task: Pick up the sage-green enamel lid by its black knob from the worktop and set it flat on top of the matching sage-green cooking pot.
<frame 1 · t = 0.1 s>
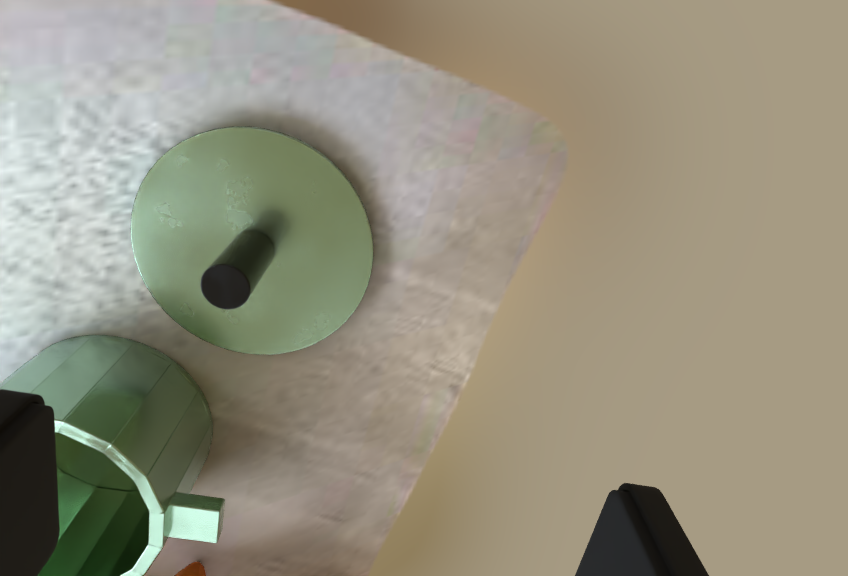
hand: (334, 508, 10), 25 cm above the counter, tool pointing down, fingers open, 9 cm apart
lid: (255, 247, 33), point 1 cm above the counter
pot: (116, 419, 38), on the counter
carrot: (199, 560, 44), on the counter
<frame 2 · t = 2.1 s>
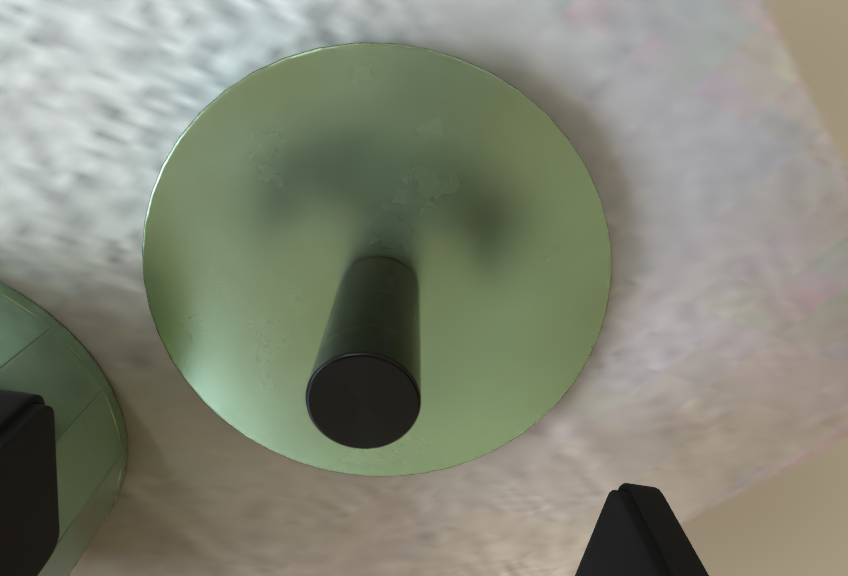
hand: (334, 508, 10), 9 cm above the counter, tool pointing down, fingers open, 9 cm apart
lid: (379, 287, 17), point 1 cm above the counter
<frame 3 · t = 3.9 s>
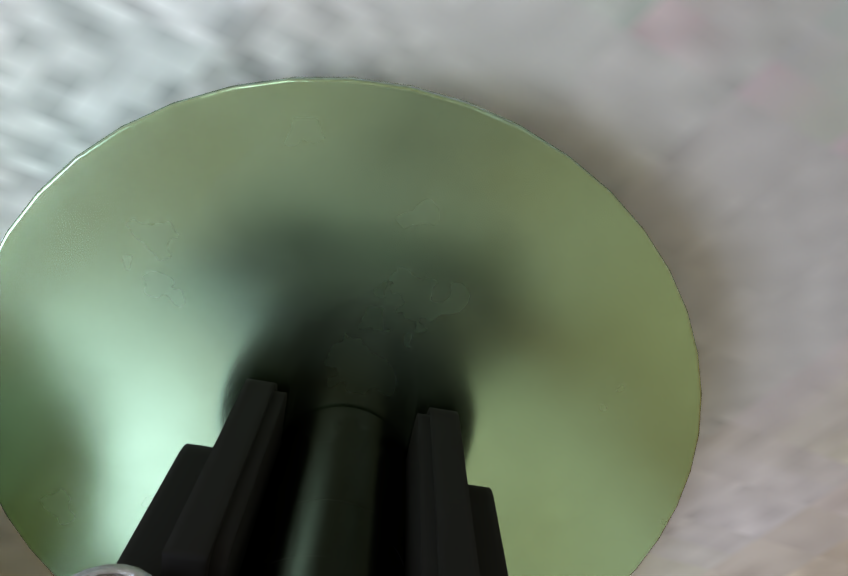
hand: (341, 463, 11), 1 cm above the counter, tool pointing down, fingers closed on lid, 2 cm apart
lid: (345, 441, 11), point 1 cm above the counter, touching gripper
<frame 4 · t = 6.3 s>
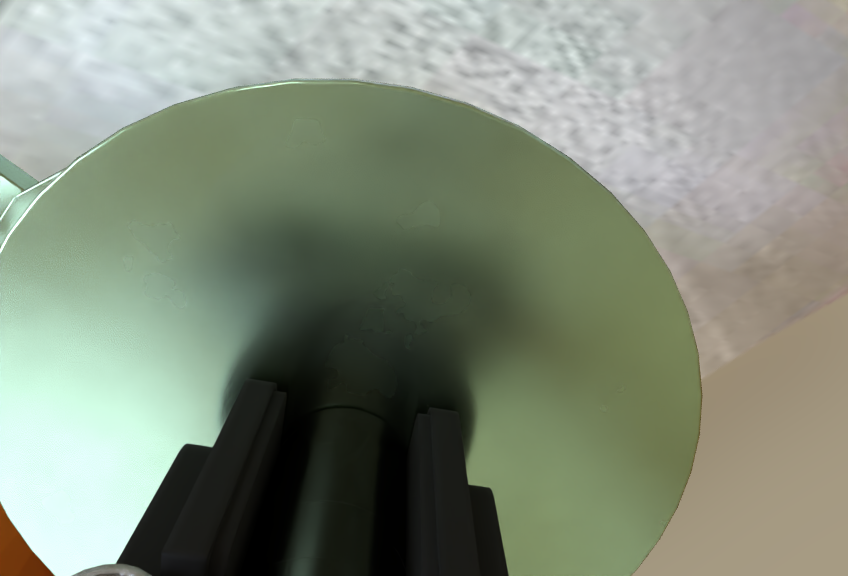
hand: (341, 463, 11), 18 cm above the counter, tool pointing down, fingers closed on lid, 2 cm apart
reusable coffee cup: (20, 489, 33), on the counter
lid: (346, 442, 11), point 17 cm above the counter, touching gripper
pot: (235, 257, 28), on the counter
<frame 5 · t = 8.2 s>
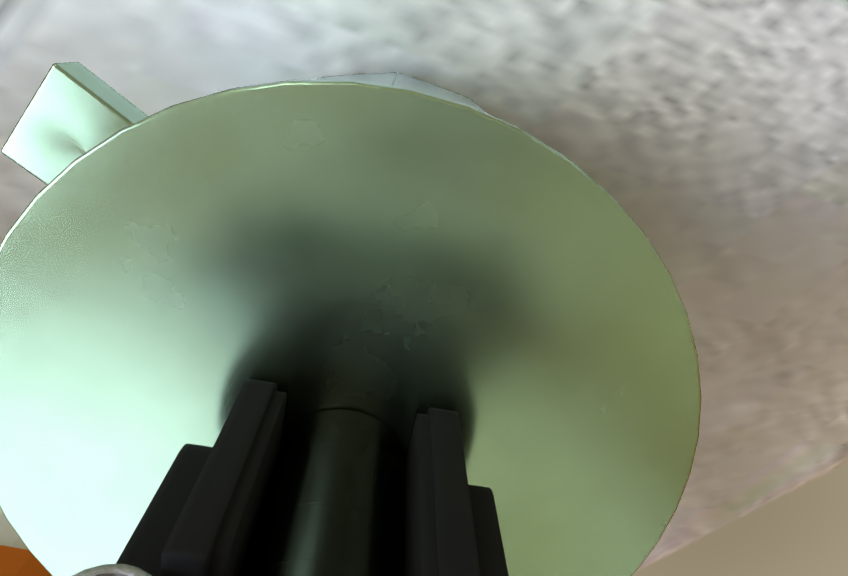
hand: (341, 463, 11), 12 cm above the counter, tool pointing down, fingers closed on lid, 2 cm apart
reusable coffee cup: (87, 543, 27), on the counter
lid: (345, 443, 11), point 11 cm above the counter, touching gripper
pot: (377, 252, 22), on the counter
when the fingers open (9 cm above the counter, at t = 9.2 s): lid stays where it is, resting on pot.
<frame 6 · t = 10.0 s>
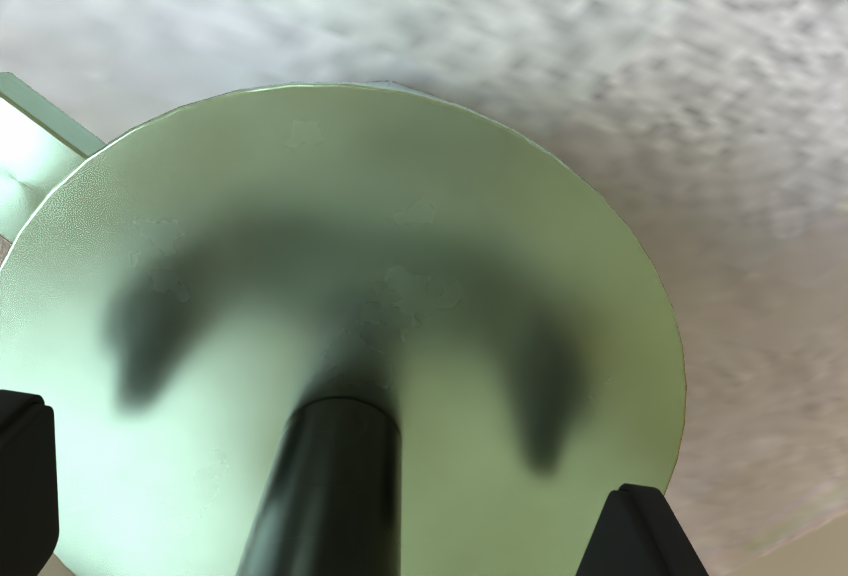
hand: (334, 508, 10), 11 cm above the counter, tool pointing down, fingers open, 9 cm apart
lid: (344, 432, 12), point 8 cm above the counter, touching pot
pot: (369, 278, 20), on the counter
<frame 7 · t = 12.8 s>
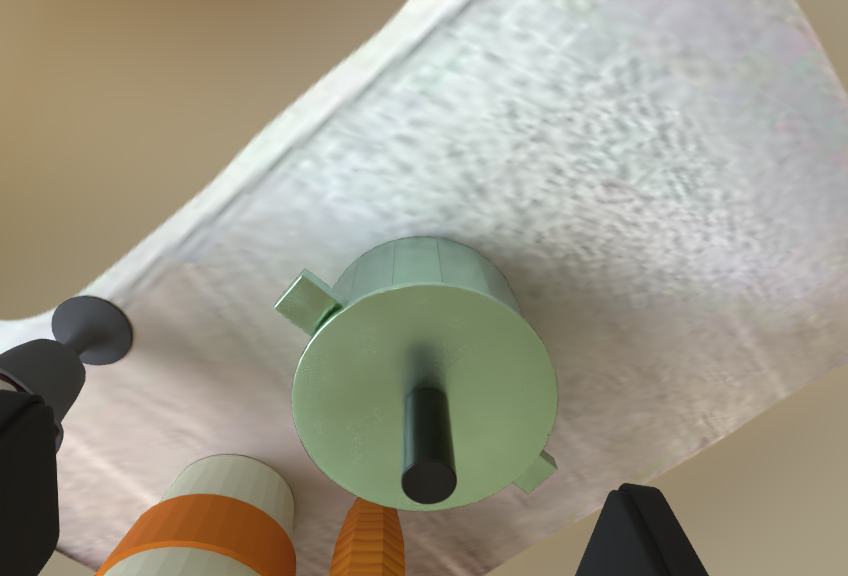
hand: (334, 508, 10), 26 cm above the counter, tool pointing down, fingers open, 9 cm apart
reusable coffee cup: (234, 501, 43), on the counter
lid: (425, 402, 30), point 8 cm above the counter, touching pot
pot: (422, 328, 38), on the counter
carrot: (375, 484, 43), on the counter
sundae: (93, 328, 38), on the counter
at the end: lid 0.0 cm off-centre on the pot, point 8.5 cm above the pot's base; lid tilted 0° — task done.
